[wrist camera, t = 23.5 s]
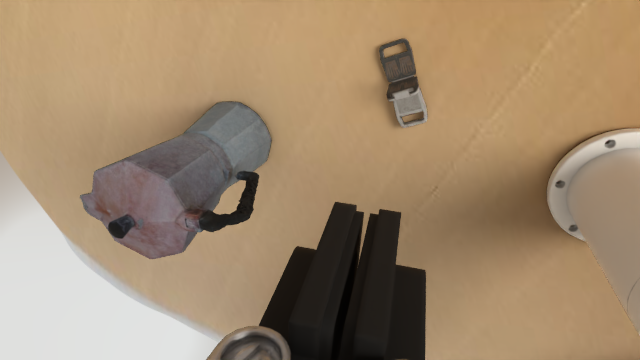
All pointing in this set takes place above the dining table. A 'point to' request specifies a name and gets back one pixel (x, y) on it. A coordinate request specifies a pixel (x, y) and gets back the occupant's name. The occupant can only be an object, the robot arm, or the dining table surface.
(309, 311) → the robot arm
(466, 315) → the dining table surface
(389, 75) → the strap clip
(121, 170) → the moka pot
